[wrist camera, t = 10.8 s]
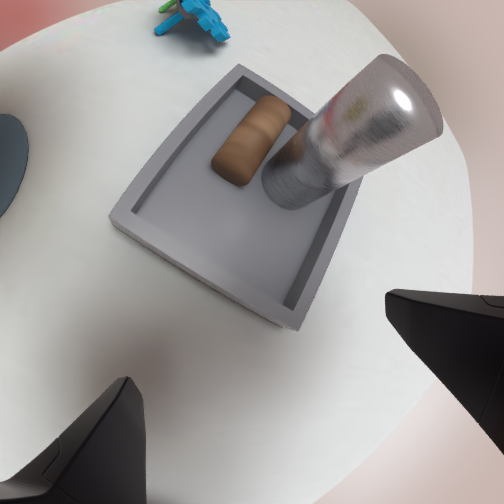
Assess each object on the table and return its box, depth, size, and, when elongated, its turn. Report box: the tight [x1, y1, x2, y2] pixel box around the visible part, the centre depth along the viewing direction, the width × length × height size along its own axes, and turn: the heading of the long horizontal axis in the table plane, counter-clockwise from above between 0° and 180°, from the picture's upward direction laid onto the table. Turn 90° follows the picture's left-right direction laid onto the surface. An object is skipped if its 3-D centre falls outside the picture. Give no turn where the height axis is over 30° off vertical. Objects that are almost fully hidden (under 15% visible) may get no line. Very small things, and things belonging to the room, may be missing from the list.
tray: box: [108, 64, 364, 331], centre depth 20 cm, size 16×14×3 cm
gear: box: [154, 0, 231, 42], centre depth 19 cm, size 11×6×10 cm
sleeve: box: [261, 54, 443, 210], centre depth 16 cm, size 5×5×13 cm
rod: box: [211, 95, 291, 186], centre depth 20 cm, size 7×3×3 cm
